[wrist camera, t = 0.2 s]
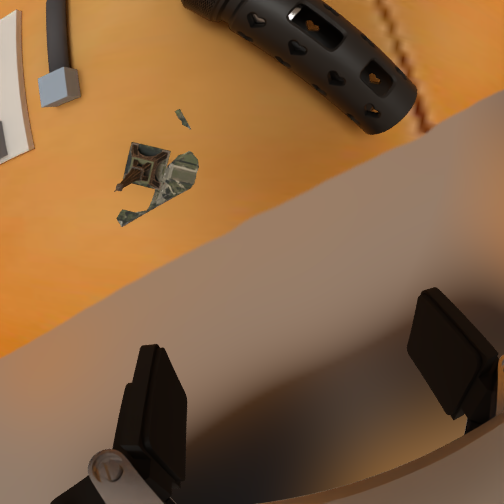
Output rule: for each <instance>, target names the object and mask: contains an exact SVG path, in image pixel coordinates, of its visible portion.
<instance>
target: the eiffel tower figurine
mask: <svg viewBox="0 0 504 504" xmlns="http://www.w3.org/2000/svg"><path fill="white" fill-rule="evenodd" d="M175 112H176V114H177V116H178V118H179V119H180V120H181V121H182V125H184V126H186V127H188V128H190V126H189V125H188V123H187V121H186V119H185V118H184V116H183V114H182V112H181V110H180V109H179V110H177V111H175ZM190 129H191V128H190ZM170 152H171V151H168V150H164V149H160V148H156V147H151V146H147V145H143V144H139V143H134V142H132V143H131V147H130V151H129V155H128V160H127V164H126V168H125V173H124V178H123V180H122V182H121V183H120V184H117V186H116V190H117V191H122V189H123V188H124V187H126V186H128V185H129V184H131V183H133V184H137V185H141V186H145V187H149V188H153V189H155V193H154V196H153V199H152V201H151V204H150V206H149V208H148V209H147V211H141V212H136V213H135V212H131V211H127V210H122V211H121V212H120V214H119V215H118V217H117V220H118V222H119V223H120V225H121V227H123V226H125V225H126V224H128V223H130V222H131V221H133V220H135V219H137V218H138V217H140V216H142V215H143V214H145V213H147V212H149V211H150V210H152V209H154V208H156V207H157V206H159V205H161V204H163V203H164V202H166V201H168V200H170V199H172V198H173V197H175V196H177V195H179V194H181V193H183V192H185V191H186V190H188V189H190V188H191V187H192V185H193V184H194V182H195V179H196V173H197V171H198V168H199V165H198V159H197V158H196V157H195V156H194V155H193V153H192V152H190V151H188V152H186V153H185V154H182V155H179V156H178V157H177V158H176V159H175V160H174V161H173V162H172V163H170V164H169V165H168V167H167V163H168V159H169V156H170ZM166 167H167V168H166ZM116 190H115V191H116ZM115 191H114V192H115Z"/></svg>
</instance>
